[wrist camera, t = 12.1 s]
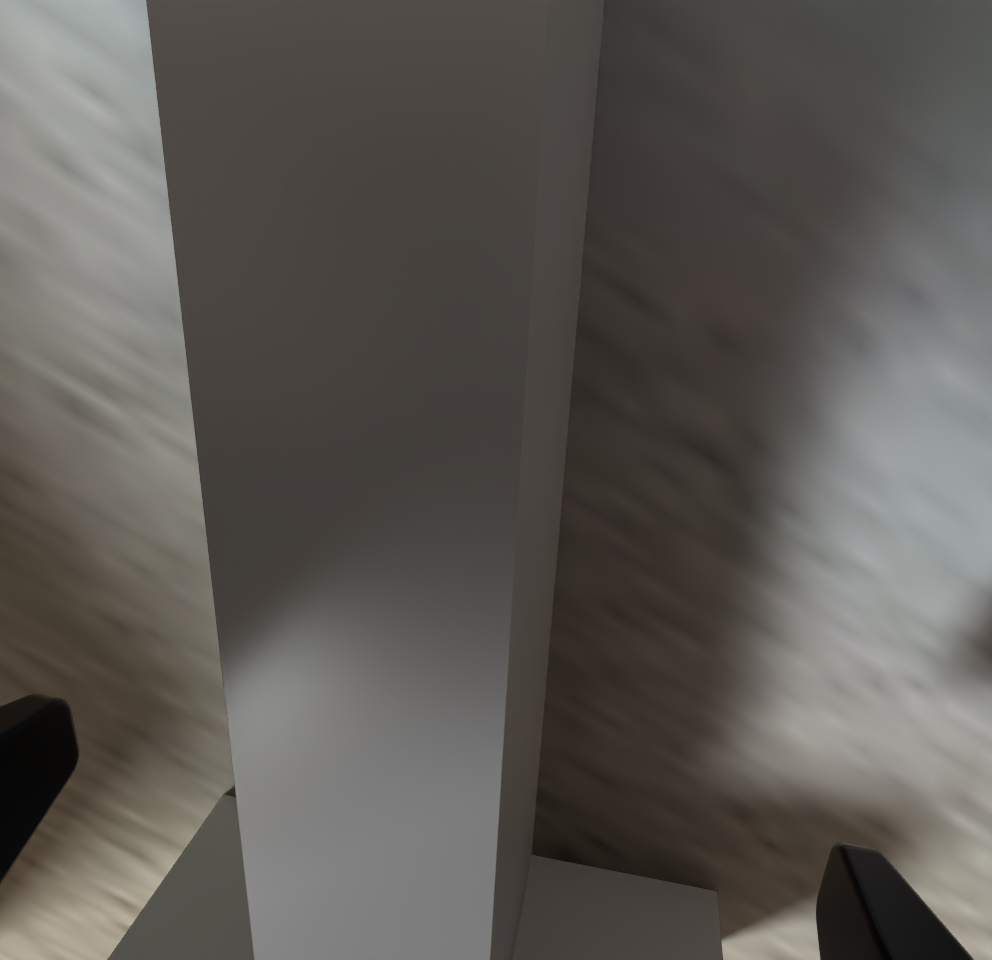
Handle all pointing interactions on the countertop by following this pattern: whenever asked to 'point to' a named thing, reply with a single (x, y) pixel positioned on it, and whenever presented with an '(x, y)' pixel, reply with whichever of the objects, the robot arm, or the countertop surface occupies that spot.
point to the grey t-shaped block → (385, 475)
